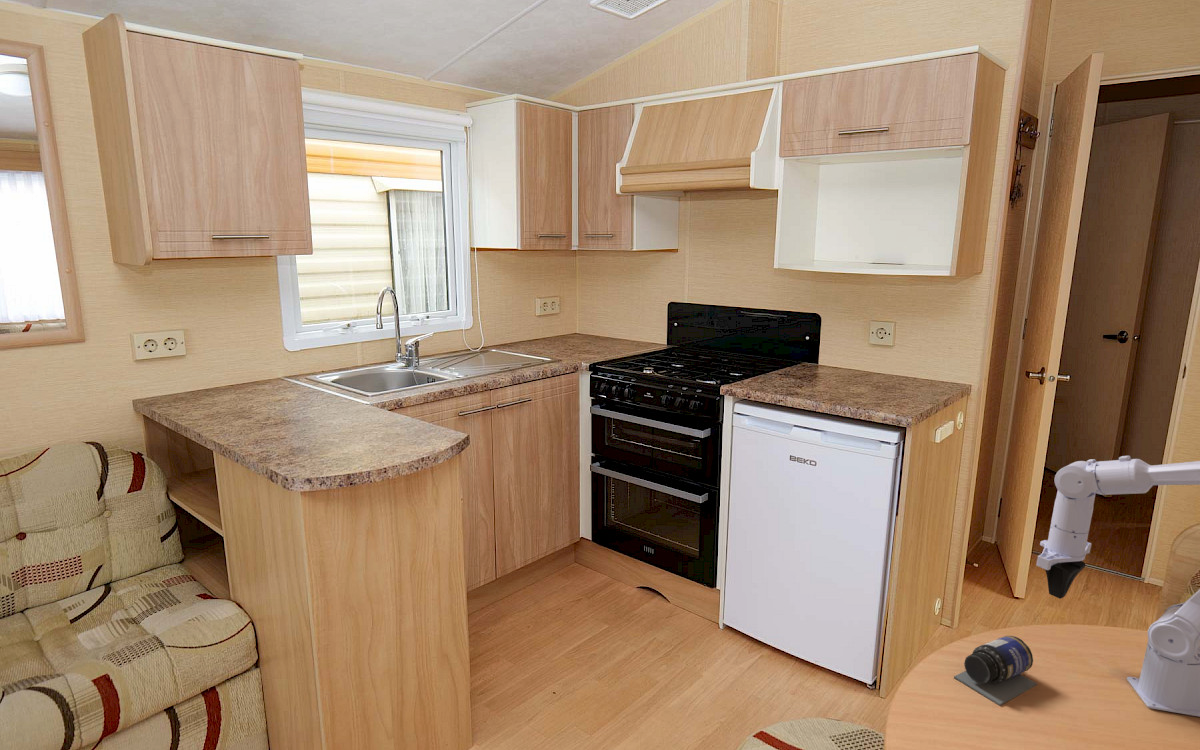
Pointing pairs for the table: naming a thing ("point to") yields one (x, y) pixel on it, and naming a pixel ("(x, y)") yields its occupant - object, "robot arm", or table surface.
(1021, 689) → the rubber mat
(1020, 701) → the table surface
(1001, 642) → the pill bottle
